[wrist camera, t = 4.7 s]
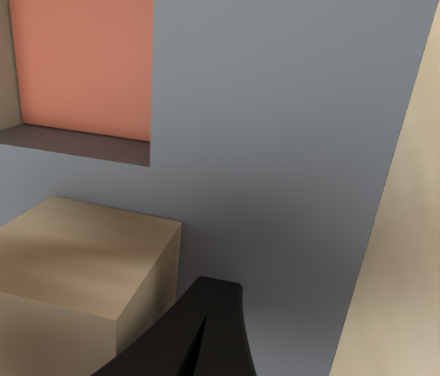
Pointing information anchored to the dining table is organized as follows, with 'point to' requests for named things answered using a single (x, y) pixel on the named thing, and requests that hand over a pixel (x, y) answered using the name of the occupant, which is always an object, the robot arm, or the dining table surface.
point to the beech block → (81, 285)
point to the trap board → (220, 138)
